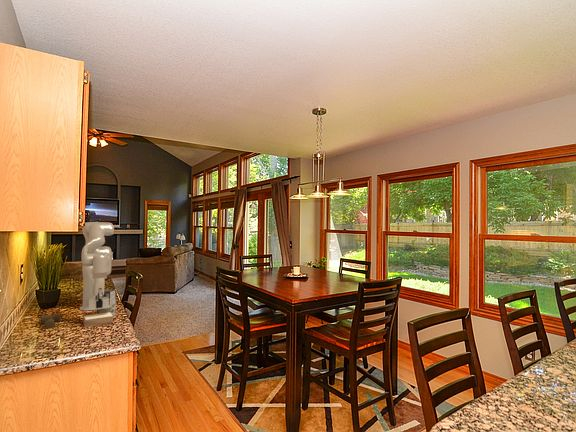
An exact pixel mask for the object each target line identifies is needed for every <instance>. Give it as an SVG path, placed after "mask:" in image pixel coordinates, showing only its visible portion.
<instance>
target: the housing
mask: <svg viewBox="0 0 576 432" xmlns="http://www.w3.org/2000/svg"><path fill="white" fill-rule="evenodd" d="M96 301H97V298H91V299H88V307H85V310H84V311H94V310H96V311H97V309H104V308H110V307H112V305H111V304H109V298H108V297H103V307H102V308H96Z"/></svg>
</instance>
